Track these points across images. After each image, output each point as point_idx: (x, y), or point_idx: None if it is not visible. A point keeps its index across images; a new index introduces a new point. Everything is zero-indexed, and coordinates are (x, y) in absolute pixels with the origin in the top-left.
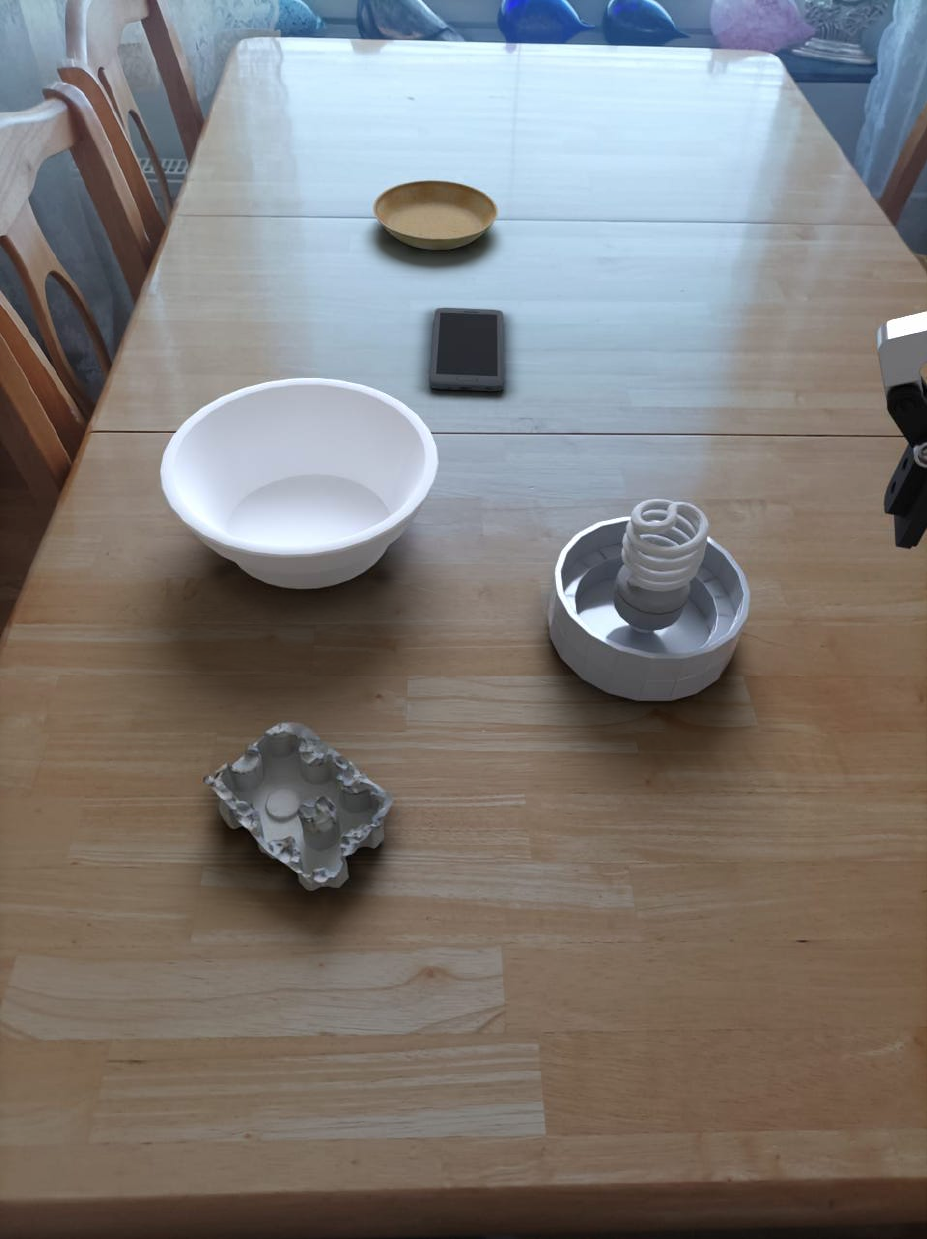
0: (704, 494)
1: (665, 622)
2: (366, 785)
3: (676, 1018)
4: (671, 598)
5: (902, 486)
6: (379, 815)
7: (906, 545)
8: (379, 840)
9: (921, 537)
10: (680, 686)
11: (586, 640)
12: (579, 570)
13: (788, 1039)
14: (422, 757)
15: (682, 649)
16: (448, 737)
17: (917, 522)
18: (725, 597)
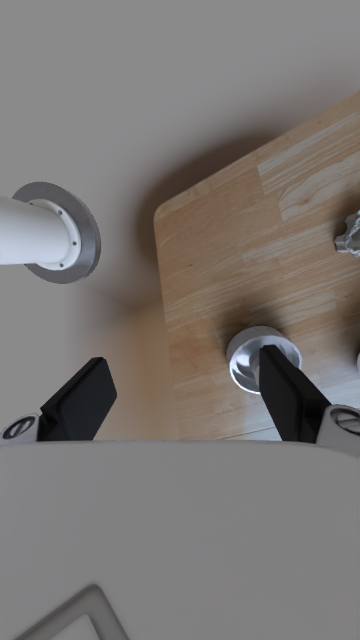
0: (242, 410)
1: (255, 354)
2: (355, 250)
3: (223, 223)
4: (258, 361)
5: (314, 386)
6: (348, 239)
7: (269, 345)
8: (336, 239)
9: (264, 352)
10: (242, 334)
11: (283, 336)
12: None
13: (190, 232)
14: (324, 279)
15: (241, 350)
16: (316, 290)
17: (281, 358)
18: (234, 371)
